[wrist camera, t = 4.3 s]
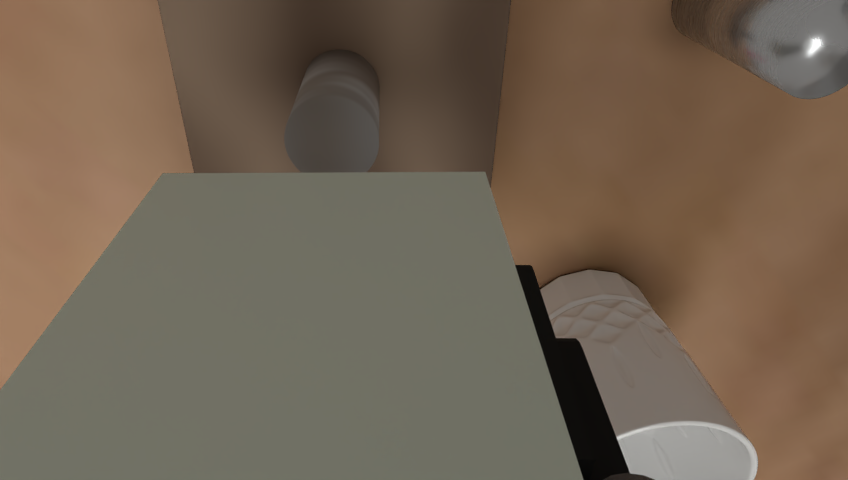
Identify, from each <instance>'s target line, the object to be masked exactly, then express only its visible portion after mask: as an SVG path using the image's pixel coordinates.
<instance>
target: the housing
mask: <svg viewBox="0 0 848 480" xmlns="http://www.w3.org/2000/svg"><path fill="white" fill-rule="evenodd" d="M0 480H583V477H582V473H581V470H580V467H579V464H578V461H577V458H576V455H575V452H574V448H573V445H572V442H571V439H570V436H569V433H568V430H567V426H566V423H565V420H564V417H563V414H562V411H561V408H560V405H559V401H558V398H557V395H556V392H555V389H554V386H553V383H552V379H551V376H550V373H549V370H548V367H547V364H546V361H545V358H544V354H543V351H542V348H541V345H540V342H539V339H538V336H537V332H536V329H535V326H534V323H533V320H532V317H531V314H530V310H529V307H528V304H527V301H526V298H525V295H524V292H523V289H522V285H521V282H520V279H519V276H518V273H517V270H516V267H515V263H514V260H513V257H512V254H511V251H510V248H509V245H508V242H507V238H506V235H505V232H504V229H503V226H502V223H501V220H500V216H499V213H498V210H497V207H496V204H495V201H494V198H493V195H492V191H491V188H490V185H489V182H488V179H487V176H486V173H485V172H333V173H163V174H162V175H161V176H160V178H159V179H158V180H157V182H156V183H155V184H154V186H153V187H152V188H151V190H150V191H149V192H148V194H147V195H146V196H145V198H144V199H143V200H142V202H141V203H140V204H139V206H138V207H137V208H136V210H135V211H134V212H133V214H132V215H131V216H130V218H129V219H128V220H127V222H126V223H125V224H124V226H123V227H122V228H121V230H120V231H119V232H118V234H117V235H116V236H115V238H114V239H113V240H112V242H111V243H110V244H109V246H108V247H107V248H106V250H105V251H104V252H103V254H102V255H101V256H100V258H99V259H98V260H97V262H96V263H95V264H94V266H93V267H92V268H91V270H90V271H89V272H88V274H87V275H86V276H85V278H84V279H83V280H82V282H81V283H80V284H79V286H78V287H77V288H76V290H75V291H74V292H73V294H72V295H71V296H70V298H69V299H68V300H67V302H66V303H65V304H64V306H63V307H62V308H61V310H60V311H59V312H58V314H57V315H56V316H55V318H54V319H53V320H52V322H51V323H50V324H49V326H48V327H47V328H46V330H45V331H44V332H43V334H42V335H41V336H40V338H39V339H38V340H37V342H36V343H35V344H34V346H33V347H32V348H31V350H30V351H29V352H28V354H27V355H26V356H25V358H24V359H23V360H22V362H21V363H20V364H19V366H18V367H17V368H16V370H15V371H14V372H13V374H12V375H11V376H10V378H9V379H8V380H7V382H6V383H5V384H4V386H3V387H2V388H1V390H0Z"/></svg>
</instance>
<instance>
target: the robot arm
mask: <svg viewBox="0 0 848 480" xmlns="http://www.w3.org/2000/svg"><path fill="white" fill-rule="evenodd" d="M515 267H516V270H517V273H518V276H519V279H520V282H521V285H522V289H523V292H524V295H525V298H526V301H527V304H528V307H529V310H530V314H531V317H532V320H533V323H534V326H535V329H536V332H537V336H538V339H539V342H540V345H541V348H542V351H543V354H544V358H545V361H546V364H547V367H548V370H549V373H550V376H551V379H552V383H553V386H554V389H555V392H556V395H557V398H558V401H559V405H560V408H561V411H562V414H563V417H564V420H565V423H566V426H567V430H568V433H569V436H570V439H571V442H572V445H573V448H574V452H575V455H576V458H577V461H578V464H579V467H580V470H581V473H582V477H583V480H654V479H652V478H649V477H647V476H644V475H638V474H631V473H630V472H629V469H628V466H627V464H626V461H625V459H624V456H623V453H622V451H621V448H620V445H619V443H618V440H617V438H616V435H615V432H614V430H613V427H612V424H611V422H610V419H609V416H608V414H607V411H606V409H605V406H604V403H603V401H602V398H601V395H600V393H599V390H598V387H597V385H596V382H595V380H594V377H593V374H592V372H591V369H590V366H589V364H588V361H587V358H586V356H585V353H584V351H583V348H582V346H581V344H580V342H579V341H578V340H577V339H576V338H556V337H555V334H554V331H553V328H552V325H551V321H550V318H549V315H548V312H547V309H546V306H545V303H544V300H543V297H542V294H541V291H540V288H539V285H538V282H537V279H536V276H535V273H534V270H533V268H532V266H530V265H515Z"/></svg>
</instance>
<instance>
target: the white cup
mask: <svg viewBox="0 0 848 480" xmlns="http://www.w3.org/2000/svg"><path fill="white" fill-rule="evenodd" d="M540 291H541V294H542V297H543V300H544V303H545V306H546V309H547V312H548V315H549V318H550V321H551V325H552V328H553V331H554V334H555V337H556V338H576V339H577V340H578V341H579V342H580V344H581V346H582V348H583V351H584V353H585V356H586V358H587V361H588V364H589V366H590V369H591V372H592V374H593V377H594V380H595V382H596V385H597V387H598V390H599V393H600V395H601V398H602V401H603V403H604V406H605V409H606V411H607V414H608V416H609V419H610V422H611V424H612V427H613V430H614V432H615V435H616V438H617V440H618V443H619V445H620V448H621V451H622V453H623V456H624V459H625V461H626V464H627V466H628V469H629V472H630V473H631V474H638V475H644V476H647V477H649V478H652V479H654V480H754V478H755V476H756V473H757V468H758V457H757V453H756V450H755V448H754V446H753V445H752V443H751V442H750V441H749V439H748V438H747V436H746V435H745V434H744V432H743V431H742V429H741V428H740V427H739V425H738V424H737V422H736V421H735V420H734V418H733V417H732V415H731V414H730V412H729V411H728V410H727V408H726V407H725V405H724V404H723V403H722V401H721V400H720V398H719V397H718V395H717V394H716V393H715V391H714V390H713V388H712V387H711V385H710V384H709V383H708V381H707V380H706V378H705V377H704V375H703V374H702V373H701V371H700V370H699V368H698V367H697V365H696V364H695V363H694V361H693V360H692V358H691V357H690V356H689V354H688V353H687V352H686V350H685V349H684V348H683V347H682V346H681V345H680V343H679V342H678V340H677V339H676V337H675V336H674V334H673V333H672V331H671V330H670V329H669V327H668V326H667V325H666V324H665V323H664V322H663V321H662V320H661V318H660V317H659V316H658V315H657V314H656V313H655V311H654V310H653V308H652V307H651V305H650V304H649V303H648V301H647V300H646V298H645V297H644V295H643V294H642V292H641V291H640V289H639V288H638V287H637V286H636V285H634V284H633V283H631V282H630V281H628V280H627V279H625V278H624V277H622V276H621V275H619V274H618V273H614V272H606V271H598V270H585V271H581V272H577V273H572V274H568V275H564V276H560V277H558V278H557V279H555V280H554V281H552V282H551V283H549V284H548V285H546V286H545V287H543V288H542V289H540Z"/></svg>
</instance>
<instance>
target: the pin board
mask: <svg viewBox="0 0 848 480" xmlns="http://www.w3.org/2000/svg"><path fill="white" fill-rule="evenodd" d="M158 4H159V9H160V14H161V18H162V23H163V28H164V32H165V37H166V42H167V47H168V51H169V56H170V61H171V65H172V70H173V75H174V80H175V84H176V89H177V94H178V99H179V103H180V108H181V113H182V117H183V122H184V127H185V132H186V136H187V141H188V146H189V151H190V155H191V160H192V165H193V169H194V173H333V172H485V173H486V176H487V179H488V182H489V185H490V188H491V179H492V170H493V161H494V152H495V143H496V133H497V124H498V115H499V106H500V97H501V87H502V78H503V69H504V60H505V51H506V42H507V32H508V23H509V14H510V5H511V0H158Z"/></svg>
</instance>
